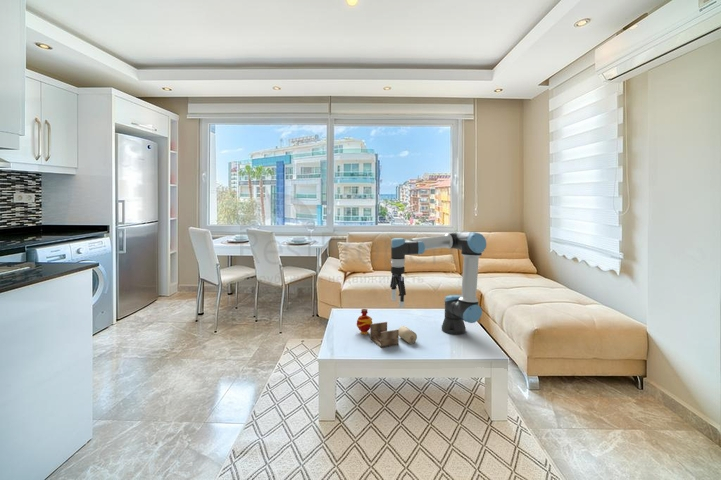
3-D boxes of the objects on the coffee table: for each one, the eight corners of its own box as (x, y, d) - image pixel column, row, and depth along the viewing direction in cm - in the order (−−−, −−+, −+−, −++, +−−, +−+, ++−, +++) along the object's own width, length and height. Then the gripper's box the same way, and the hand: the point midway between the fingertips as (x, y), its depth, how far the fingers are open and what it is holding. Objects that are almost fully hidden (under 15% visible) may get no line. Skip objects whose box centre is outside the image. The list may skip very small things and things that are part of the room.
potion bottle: (358, 336, 214) (358, 312, 213) (355, 330, 225) (355, 307, 223) (374, 335, 216) (374, 311, 215) (370, 329, 227) (370, 307, 225)
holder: (386, 335, 215) (386, 321, 214) (398, 345, 201) (398, 329, 200) (370, 338, 211) (370, 324, 210) (381, 347, 197) (381, 332, 196)
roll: (407, 336, 215) (407, 325, 214) (417, 342, 204) (417, 331, 204) (397, 337, 212) (397, 326, 212) (406, 344, 202) (406, 333, 201)
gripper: (385, 262, 202) (384, 298, 204) (398, 270, 178) (398, 310, 180) (397, 262, 204) (397, 297, 206) (412, 269, 180) (411, 309, 182)
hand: (397, 303), depth 193 cm, fingers open, 13 cm apart
